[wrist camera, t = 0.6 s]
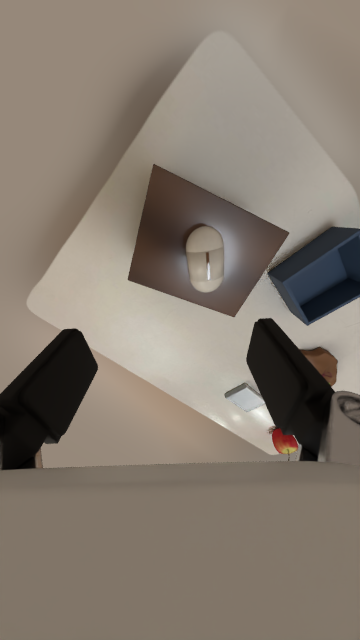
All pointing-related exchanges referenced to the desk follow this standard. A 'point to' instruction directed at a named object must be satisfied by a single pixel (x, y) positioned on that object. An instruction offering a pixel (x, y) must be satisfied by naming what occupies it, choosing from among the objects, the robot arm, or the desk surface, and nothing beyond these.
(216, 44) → the desk surface
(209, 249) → the white capsule
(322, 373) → the plant
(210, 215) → the side table
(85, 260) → the desk surface
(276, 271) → the bin
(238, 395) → the hard drive
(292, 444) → the apple
